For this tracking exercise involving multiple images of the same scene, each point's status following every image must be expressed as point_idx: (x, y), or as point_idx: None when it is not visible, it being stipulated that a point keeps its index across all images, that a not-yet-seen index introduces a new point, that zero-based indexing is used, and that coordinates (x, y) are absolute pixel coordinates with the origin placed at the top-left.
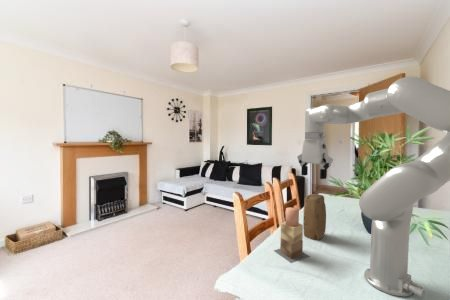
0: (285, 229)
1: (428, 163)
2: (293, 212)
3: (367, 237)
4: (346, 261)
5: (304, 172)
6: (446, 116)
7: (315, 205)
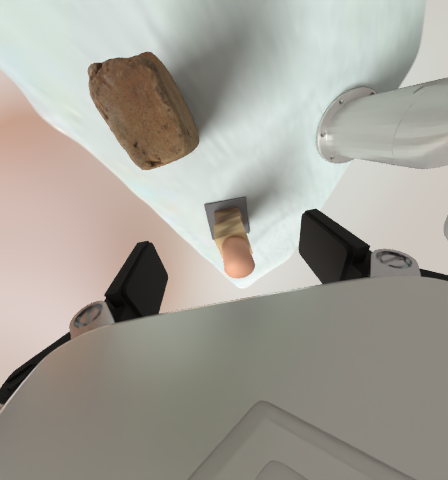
0: None
1: None
2: (251, 269)
3: None
4: (279, 142)
5: (158, 278)
6: None
7: (190, 151)
